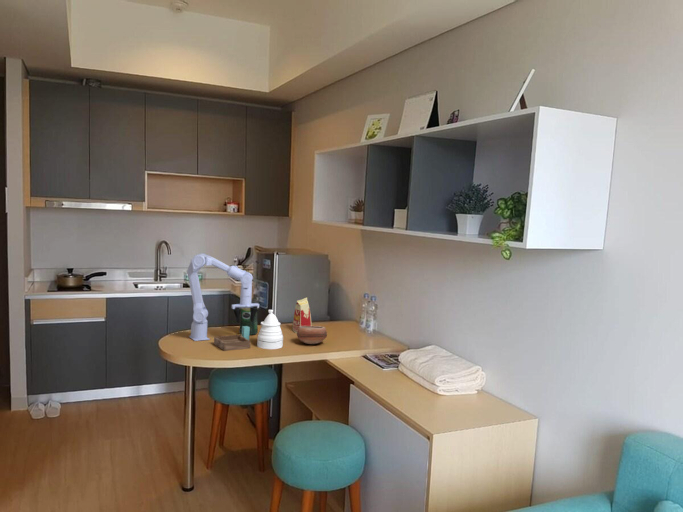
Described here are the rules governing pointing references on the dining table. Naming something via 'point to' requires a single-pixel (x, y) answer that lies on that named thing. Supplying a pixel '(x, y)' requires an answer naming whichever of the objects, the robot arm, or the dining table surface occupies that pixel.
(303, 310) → the milk carton
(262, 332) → the honey pot
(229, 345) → the socket box
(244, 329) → the peg
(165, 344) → the dining table surface
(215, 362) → the dining table surface
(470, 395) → the dining table surface
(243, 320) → the coffee jar
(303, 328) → the bowl
